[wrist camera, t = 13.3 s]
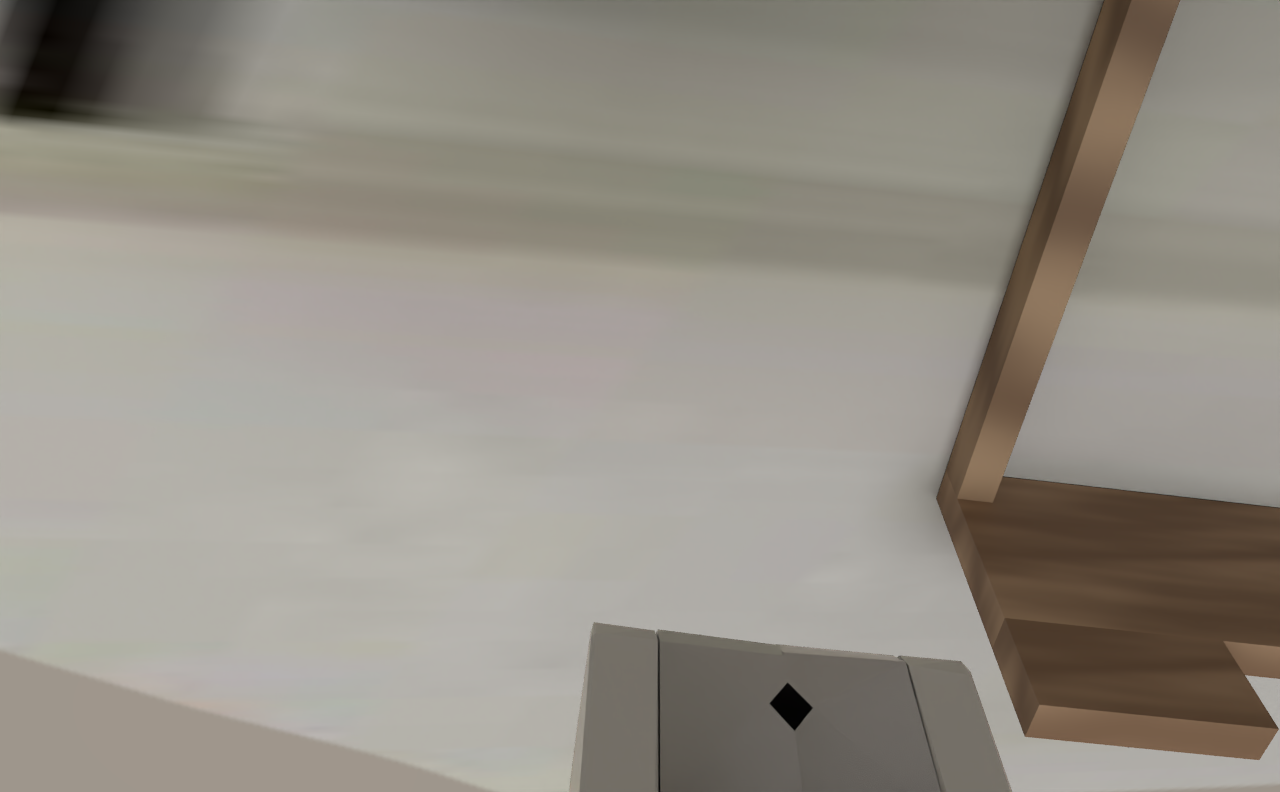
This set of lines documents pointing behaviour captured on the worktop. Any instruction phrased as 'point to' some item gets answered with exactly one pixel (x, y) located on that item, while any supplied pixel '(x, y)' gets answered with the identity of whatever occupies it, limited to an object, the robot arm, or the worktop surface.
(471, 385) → the worktop surface
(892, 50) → the worktop surface
